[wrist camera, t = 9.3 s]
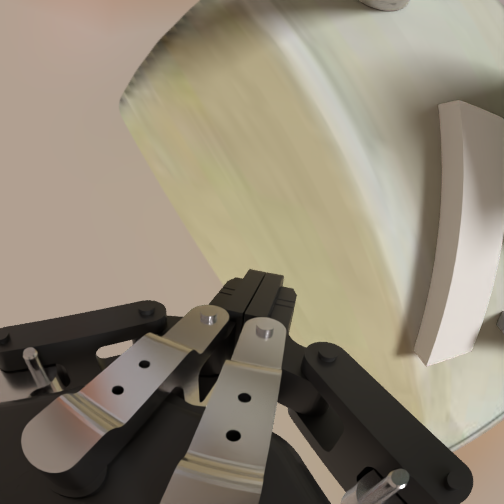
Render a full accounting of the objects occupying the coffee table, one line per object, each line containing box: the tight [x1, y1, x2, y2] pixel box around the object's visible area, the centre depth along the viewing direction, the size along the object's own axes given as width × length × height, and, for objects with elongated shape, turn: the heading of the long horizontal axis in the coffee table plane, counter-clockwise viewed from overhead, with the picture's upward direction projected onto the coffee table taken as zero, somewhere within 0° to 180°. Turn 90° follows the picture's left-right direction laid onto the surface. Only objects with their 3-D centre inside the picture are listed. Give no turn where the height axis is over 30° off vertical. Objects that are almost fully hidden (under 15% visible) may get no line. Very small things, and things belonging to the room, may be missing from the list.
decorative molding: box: [414, 100, 504, 366], centre depth 27 cm, size 34×5×10 cm
